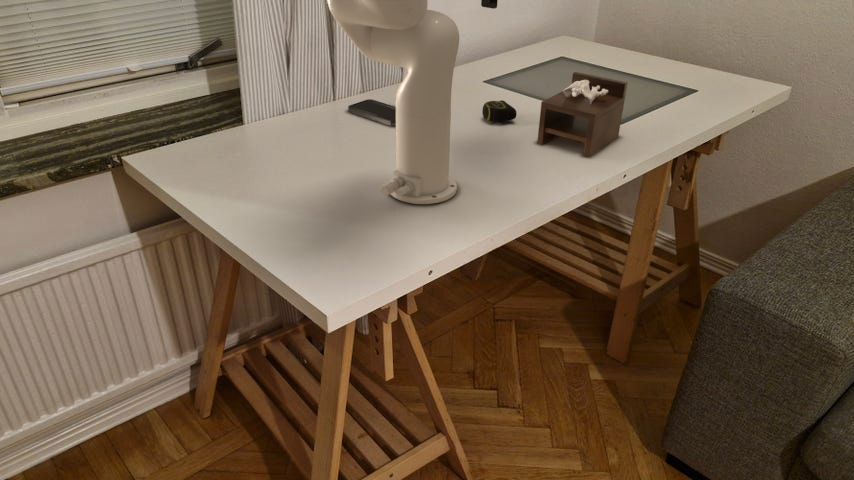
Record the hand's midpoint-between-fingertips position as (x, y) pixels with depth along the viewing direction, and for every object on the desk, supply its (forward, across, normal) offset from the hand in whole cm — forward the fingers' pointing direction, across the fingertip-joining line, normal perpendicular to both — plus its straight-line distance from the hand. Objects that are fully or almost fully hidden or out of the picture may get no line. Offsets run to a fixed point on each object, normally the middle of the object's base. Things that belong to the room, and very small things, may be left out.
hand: (503, 3), depth 131 cm
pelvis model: (+20, +13, -13) cm, 27 cm away
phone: (+28, -2, +30) cm, 41 cm away
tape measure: (+28, +13, +7) cm, 32 cm away
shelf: (+28, +13, -13) cm, 34 cm away
